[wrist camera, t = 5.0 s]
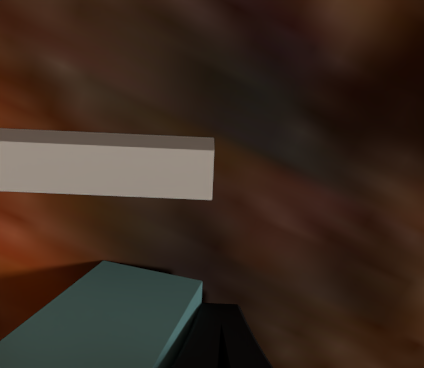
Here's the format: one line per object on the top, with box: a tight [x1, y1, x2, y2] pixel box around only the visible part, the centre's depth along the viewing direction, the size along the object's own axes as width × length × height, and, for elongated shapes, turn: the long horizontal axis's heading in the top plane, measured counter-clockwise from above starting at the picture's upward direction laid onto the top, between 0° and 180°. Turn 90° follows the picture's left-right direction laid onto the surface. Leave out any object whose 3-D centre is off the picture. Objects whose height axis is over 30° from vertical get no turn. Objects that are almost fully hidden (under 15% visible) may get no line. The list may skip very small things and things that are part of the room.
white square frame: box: [0, 128, 214, 200], centre depth 10 cm, size 12×12×2 cm
